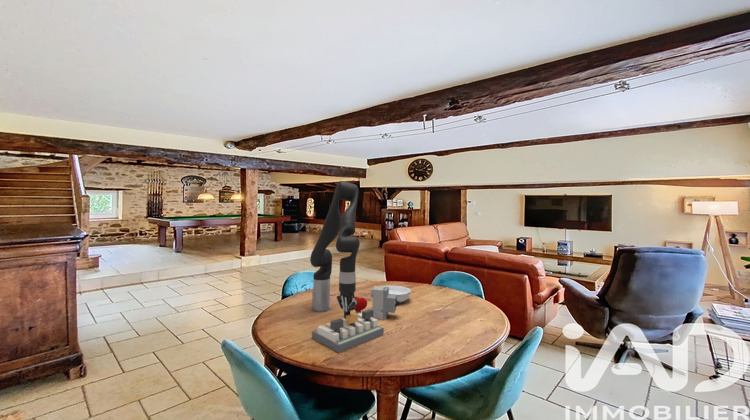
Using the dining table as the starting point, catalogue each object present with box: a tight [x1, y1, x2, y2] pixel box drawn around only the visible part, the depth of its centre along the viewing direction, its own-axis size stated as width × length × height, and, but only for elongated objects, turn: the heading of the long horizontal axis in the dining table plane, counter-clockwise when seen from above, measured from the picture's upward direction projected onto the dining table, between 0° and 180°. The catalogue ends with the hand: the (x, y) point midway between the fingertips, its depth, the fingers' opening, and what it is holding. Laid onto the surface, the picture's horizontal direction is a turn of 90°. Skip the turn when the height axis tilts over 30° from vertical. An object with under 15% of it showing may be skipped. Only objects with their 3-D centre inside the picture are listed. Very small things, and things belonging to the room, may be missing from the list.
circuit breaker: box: [370, 285, 400, 320], centre depth 171 cm, size 8×14×15 cm, turn 78°
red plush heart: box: [353, 296, 368, 314], centre depth 171 cm, size 9×7×10 cm
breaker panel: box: [311, 308, 385, 354], centre depth 146 cm, size 19×26×10 cm
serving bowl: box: [384, 285, 412, 303], centre depth 198 cm, size 21×21×7 cm
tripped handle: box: [346, 312, 358, 327], centre depth 144 cm, size 2×5×7 cm, turn 135°
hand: (346, 318), depth 146 cm, fingers closed
